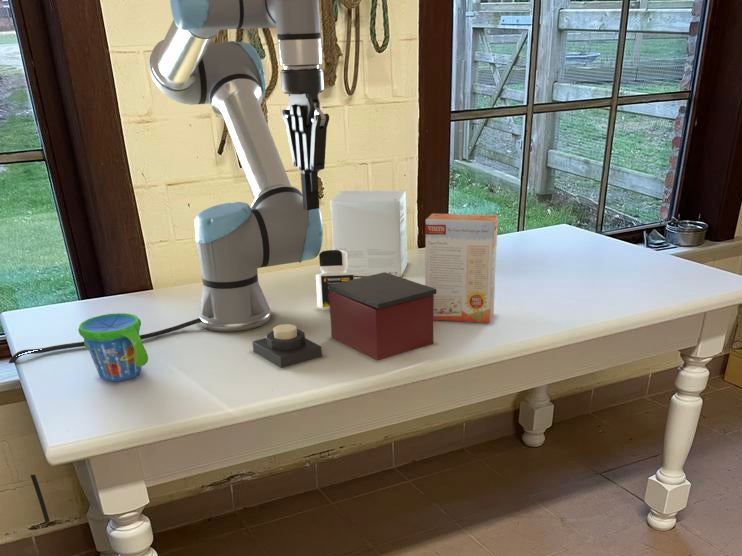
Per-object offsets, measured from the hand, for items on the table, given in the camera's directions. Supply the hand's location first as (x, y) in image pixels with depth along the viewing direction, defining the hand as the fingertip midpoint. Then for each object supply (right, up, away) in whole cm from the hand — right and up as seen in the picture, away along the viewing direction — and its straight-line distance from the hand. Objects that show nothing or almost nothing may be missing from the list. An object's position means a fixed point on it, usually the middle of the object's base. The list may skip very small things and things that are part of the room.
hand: (311, 208), depth 151 cm
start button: (-5, -24, +1) cm, 25 cm away
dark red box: (+13, -24, +8) cm, 28 cm away
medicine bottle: (+3, -13, +22) cm, 26 cm away
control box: (-5, -27, +3) cm, 28 cm away
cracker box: (+30, -16, +18) cm, 39 cm away
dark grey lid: (+13, -15, +2) cm, 21 cm away
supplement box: (+11, +4, +51) cm, 52 cm away
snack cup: (-35, -33, -4) cm, 48 cm away
